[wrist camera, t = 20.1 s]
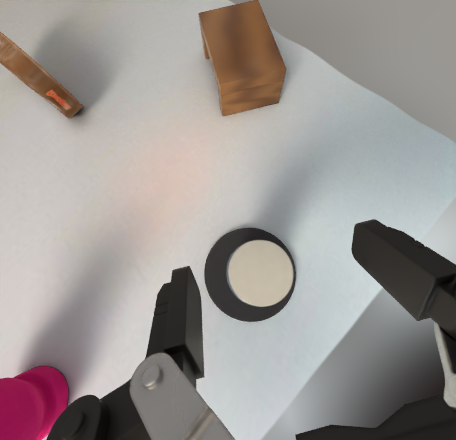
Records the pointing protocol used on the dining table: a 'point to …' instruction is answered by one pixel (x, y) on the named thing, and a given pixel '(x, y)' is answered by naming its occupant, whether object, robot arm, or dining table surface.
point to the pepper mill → (31, 403)
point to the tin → (36, 77)
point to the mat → (218, 278)
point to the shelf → (242, 57)
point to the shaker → (259, 273)
